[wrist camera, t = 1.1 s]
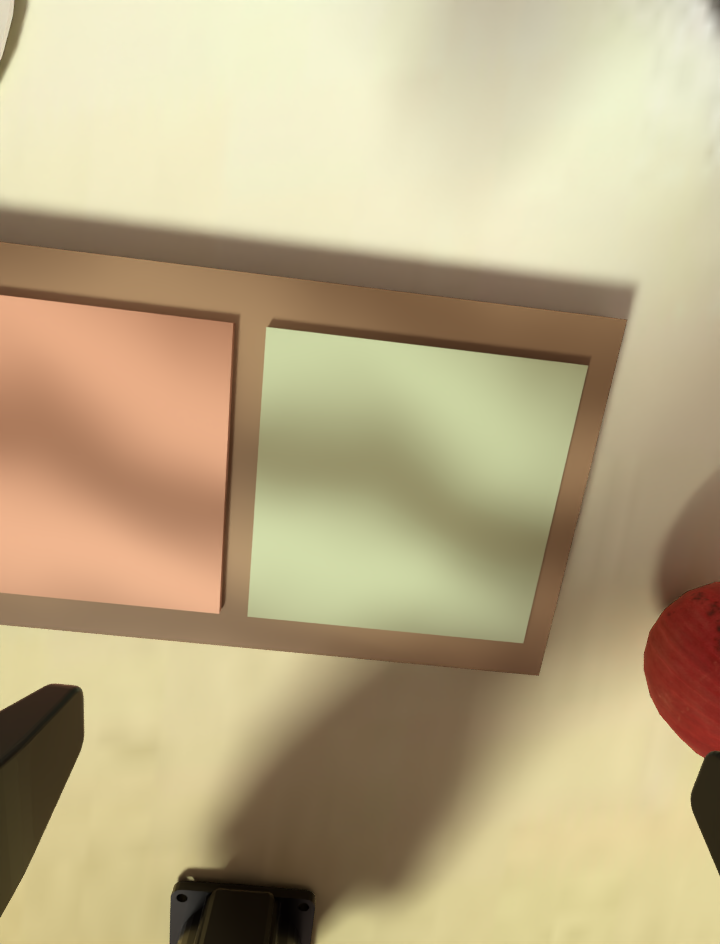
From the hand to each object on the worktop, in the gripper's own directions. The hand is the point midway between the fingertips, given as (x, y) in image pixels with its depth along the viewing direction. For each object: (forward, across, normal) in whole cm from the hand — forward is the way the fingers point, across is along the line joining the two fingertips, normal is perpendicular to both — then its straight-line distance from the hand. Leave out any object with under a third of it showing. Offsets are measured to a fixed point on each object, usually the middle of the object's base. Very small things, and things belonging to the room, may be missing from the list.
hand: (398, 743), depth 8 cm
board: (+12, +4, 0) cm, 13 cm away
